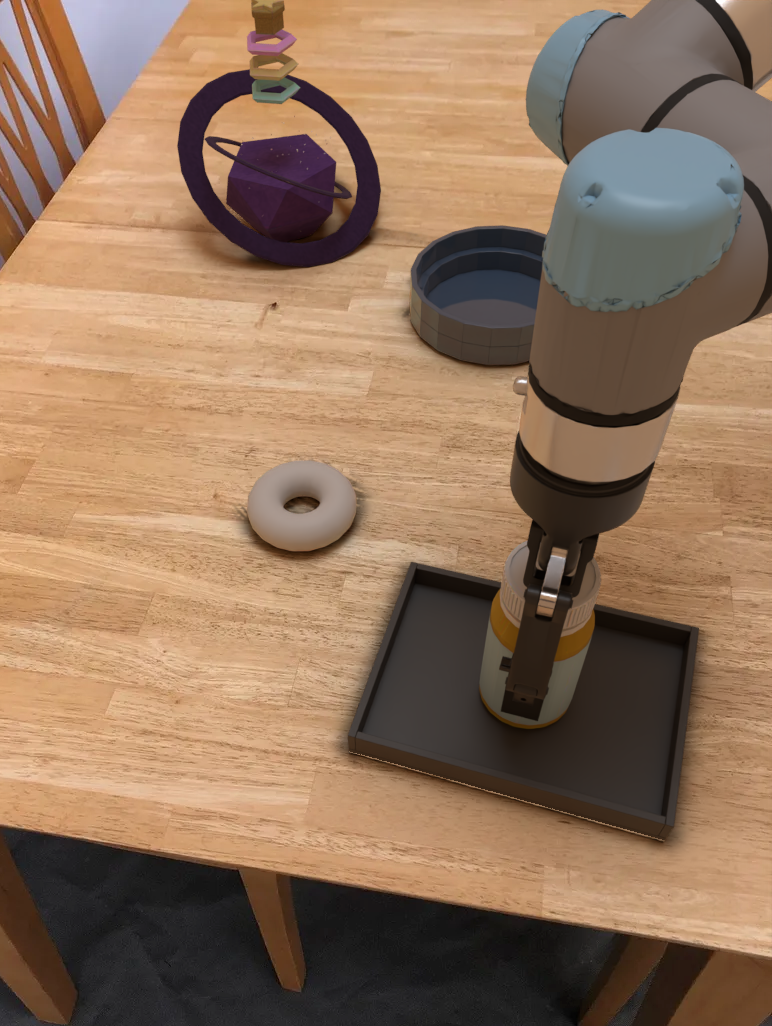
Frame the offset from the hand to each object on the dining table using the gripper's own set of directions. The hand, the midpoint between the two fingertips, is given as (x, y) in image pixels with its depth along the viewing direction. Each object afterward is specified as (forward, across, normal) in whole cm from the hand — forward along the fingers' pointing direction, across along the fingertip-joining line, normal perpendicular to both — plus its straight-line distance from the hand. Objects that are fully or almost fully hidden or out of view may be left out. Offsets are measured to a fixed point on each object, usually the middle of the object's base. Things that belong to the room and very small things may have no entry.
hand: (531, 668), depth 68 cm
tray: (+4, 0, 0) cm, 4 cm away
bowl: (+4, -47, -13) cm, 49 cm away
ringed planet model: (+5, -57, -41) cm, 70 cm away
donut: (+5, -13, -23) cm, 27 cm away
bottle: (+4, 0, 0) cm, 4 cm away
